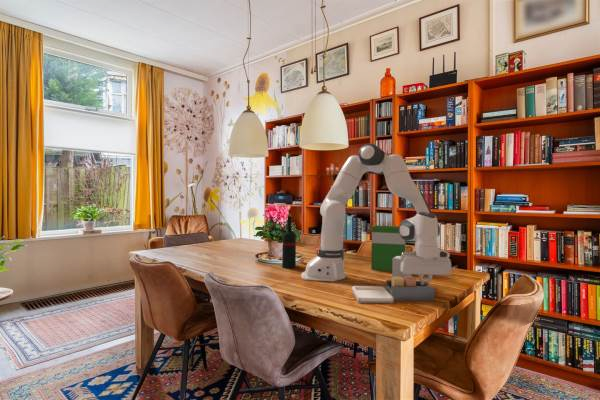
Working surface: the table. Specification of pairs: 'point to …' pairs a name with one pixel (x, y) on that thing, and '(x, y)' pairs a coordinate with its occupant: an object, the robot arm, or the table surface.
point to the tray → (372, 294)
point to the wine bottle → (289, 247)
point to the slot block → (411, 292)
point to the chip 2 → (409, 281)
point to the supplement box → (397, 267)
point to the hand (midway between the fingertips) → (425, 284)
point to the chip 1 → (397, 281)
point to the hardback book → (385, 247)
